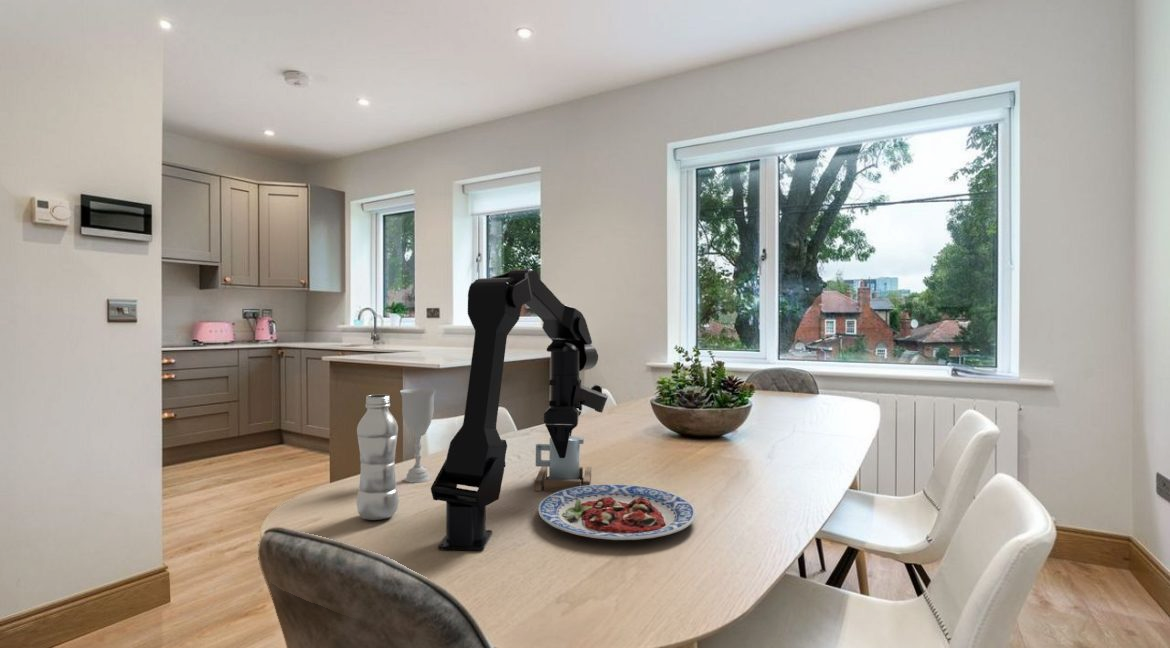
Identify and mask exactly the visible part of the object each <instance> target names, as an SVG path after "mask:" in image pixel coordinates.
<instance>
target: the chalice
mask: <svg viewBox="0 0 1170 648" xmlns="http://www.w3.org/2000/svg"><path fill="white" fill-rule="evenodd" d="M436 392H437V389H433V388H407V389H406V388H405V389H401V390H400V391H399V393H400V395H401V397H402V400H401V401H402V405H401V406H402V411H401V412H402V413H401V414H402V418H403V421H404V425H405V426H406V428H407V430H408V432H409V434H410V436H413V437H414V439H415V443H414V445H413V448H415V449H414V450H415V452H414V454H413V457H414V459H415V460H414V462H415V463H414V464H413V466H411V467H410V468H409V469H408V472H407V473H406V477H405V479H404V481H405V482H407V483H411V484H417V483H424V482H428V481H430V480H431V476H430V474H429V472H428V469H427V467H426V466H423V464H422V463H421V458H422V456H423V454H422V452H421V449H422V447H423V445H422V442H421V440H422V437H423V436H425V435H426V433H427V432H428V430H429V428H430V425H431V423H432V420H433V416H434V414H435V413H434V412H435V411H434V410H435V407H434V404H435V403H434V402H435V401H434V400H435V395H436Z"/></svg>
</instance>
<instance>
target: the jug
mask: <svg viewBox="0 0 1170 648" xmlns="http://www.w3.org/2000/svg"><path fill="white" fill-rule="evenodd" d="M584 443H585V438H584V437H578V436H575V435H571V436H569V440H568V446H567V451H566V456H565V458H559V455H558V453H557V450H556V448H555V446H554V443H553V441H552V438H551V437H550V438H549V443H548V444H547V443H536V444H535V467H540V468H541V467H547V468H548V470H549V472H548V474H549V477H548V479H575V480H580V478H579V471H580V467H581V465H580V462H581V460H580V459H581V458H580V455H581V454H580V453H581V452H580V451H581V450H580V446H581V445H583V444H584ZM542 451H544V452H545V451H547V452H549V458H548V459H542Z"/></svg>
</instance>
